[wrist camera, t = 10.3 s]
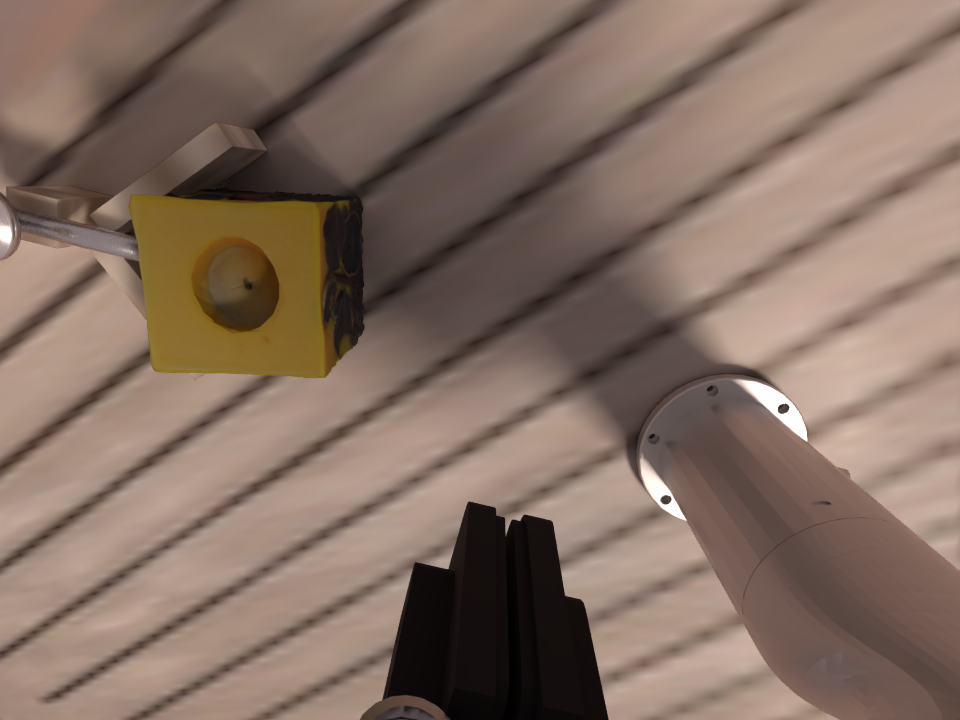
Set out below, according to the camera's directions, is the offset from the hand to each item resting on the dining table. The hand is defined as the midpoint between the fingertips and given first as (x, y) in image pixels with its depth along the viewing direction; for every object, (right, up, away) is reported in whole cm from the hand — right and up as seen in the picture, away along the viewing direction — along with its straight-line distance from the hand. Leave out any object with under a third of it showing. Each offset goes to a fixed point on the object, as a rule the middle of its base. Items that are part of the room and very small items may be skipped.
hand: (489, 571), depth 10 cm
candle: (-13, +11, +28) cm, 33 cm away
